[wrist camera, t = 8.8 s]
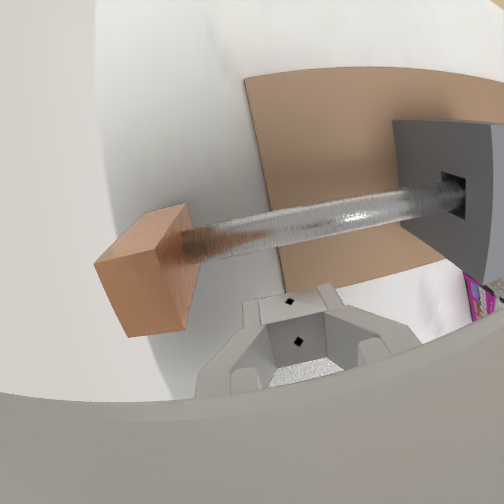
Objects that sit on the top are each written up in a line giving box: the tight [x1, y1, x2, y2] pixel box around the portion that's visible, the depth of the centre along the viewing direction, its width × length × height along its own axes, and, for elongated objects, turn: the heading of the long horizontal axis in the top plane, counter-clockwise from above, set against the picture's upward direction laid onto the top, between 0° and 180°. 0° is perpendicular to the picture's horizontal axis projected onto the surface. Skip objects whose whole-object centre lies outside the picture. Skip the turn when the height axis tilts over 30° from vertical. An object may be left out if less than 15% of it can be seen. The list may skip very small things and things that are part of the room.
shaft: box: [94, 178, 466, 338], centre depth 15 cm, size 4×24×8 cm, turn 102°
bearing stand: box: [244, 67, 504, 293], centre depth 18 cm, size 20×32×13 cm, turn 102°
